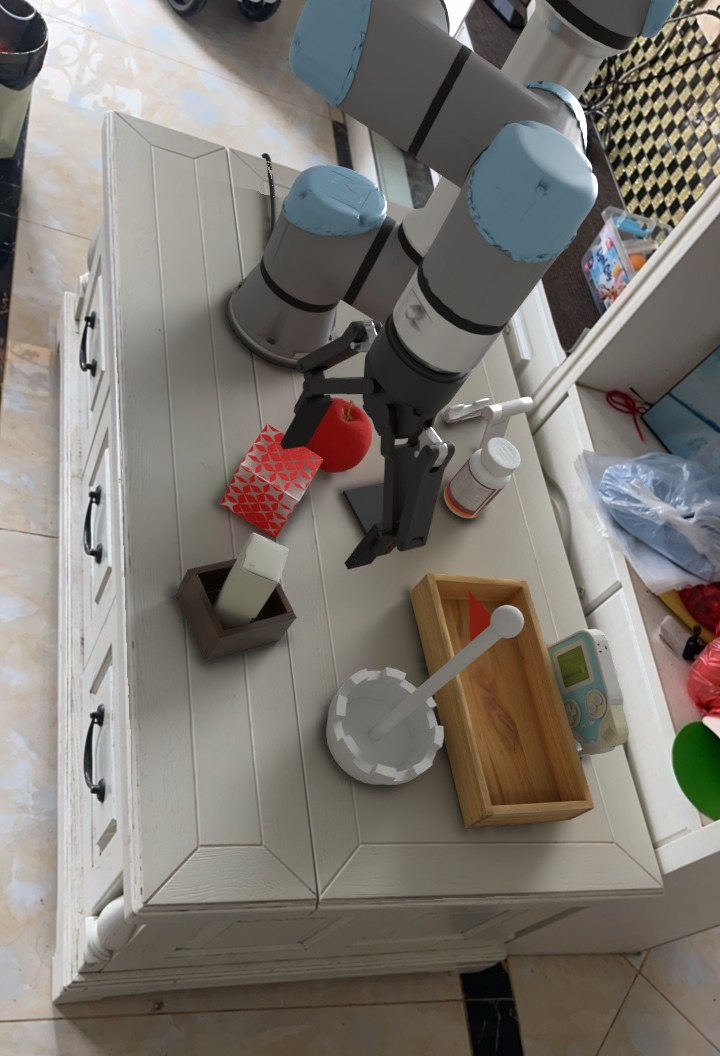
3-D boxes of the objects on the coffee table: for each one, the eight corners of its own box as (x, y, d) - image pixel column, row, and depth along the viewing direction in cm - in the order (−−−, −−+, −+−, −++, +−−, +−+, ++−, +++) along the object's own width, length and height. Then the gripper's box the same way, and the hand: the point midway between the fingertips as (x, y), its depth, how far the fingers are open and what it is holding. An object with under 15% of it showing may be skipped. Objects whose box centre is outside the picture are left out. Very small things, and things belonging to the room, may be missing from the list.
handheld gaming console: (559, 764, 112) (532, 653, 116) (576, 762, 114) (548, 652, 118) (620, 745, 103) (587, 625, 107) (637, 743, 104) (605, 624, 108)
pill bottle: (470, 483, 127) (514, 433, 118) (485, 519, 125) (531, 471, 116) (435, 484, 124) (477, 433, 115) (450, 521, 121) (494, 472, 112)
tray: (407, 593, 112) (428, 570, 108) (505, 600, 119) (528, 578, 114) (460, 830, 99) (486, 815, 95) (566, 822, 106) (595, 808, 102)
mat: (342, 492, 115) (344, 490, 115) (389, 483, 120) (391, 481, 119) (369, 543, 113) (371, 541, 113) (416, 532, 118) (418, 530, 117)
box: (240, 643, 98) (279, 586, 88) (203, 628, 97) (238, 569, 87) (252, 606, 101) (291, 547, 91) (216, 591, 100) (252, 529, 90)
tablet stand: (480, 406, 136) (510, 369, 129) (508, 446, 134) (539, 411, 127) (441, 416, 131) (470, 377, 124) (469, 458, 129) (500, 421, 122)
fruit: (363, 454, 120) (396, 406, 112) (340, 495, 115) (372, 448, 107) (306, 416, 119) (335, 365, 111) (279, 457, 114) (307, 406, 106)
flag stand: (434, 785, 101) (599, 677, 77) (333, 800, 94) (478, 688, 71) (404, 682, 106) (549, 550, 82) (305, 690, 99) (432, 549, 75)
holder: (174, 594, 98) (187, 569, 93) (249, 576, 103) (264, 551, 99) (205, 661, 96) (219, 638, 91) (280, 639, 101) (297, 617, 97)
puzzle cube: (246, 463, 111) (267, 423, 104) (300, 496, 112) (323, 459, 106) (219, 504, 106) (239, 464, 100) (275, 538, 107) (298, 501, 101)
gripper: (319, 215, 67) (234, 402, 83) (479, 482, 60) (353, 626, 77) (395, 217, 71) (300, 394, 88) (552, 466, 64) (417, 606, 81)
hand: (324, 503), depth 82 cm, fingers open, 13 cm apart
